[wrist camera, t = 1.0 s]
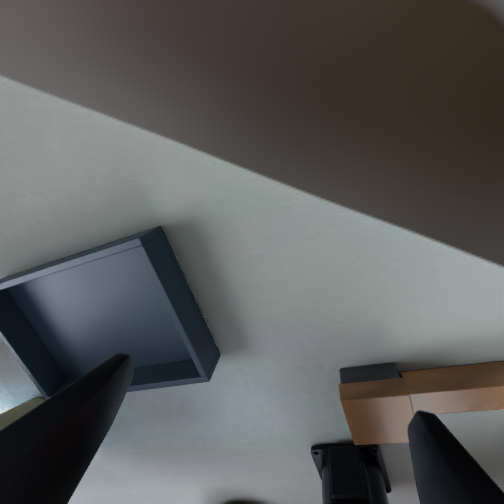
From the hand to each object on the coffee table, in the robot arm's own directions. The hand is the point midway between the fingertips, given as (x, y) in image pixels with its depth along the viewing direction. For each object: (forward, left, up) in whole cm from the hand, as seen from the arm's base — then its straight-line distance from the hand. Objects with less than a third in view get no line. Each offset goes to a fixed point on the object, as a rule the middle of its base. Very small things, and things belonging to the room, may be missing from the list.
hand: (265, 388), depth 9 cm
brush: (-14, -7, -13) cm, 20 cm away
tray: (-2, +19, -13) cm, 23 cm away
